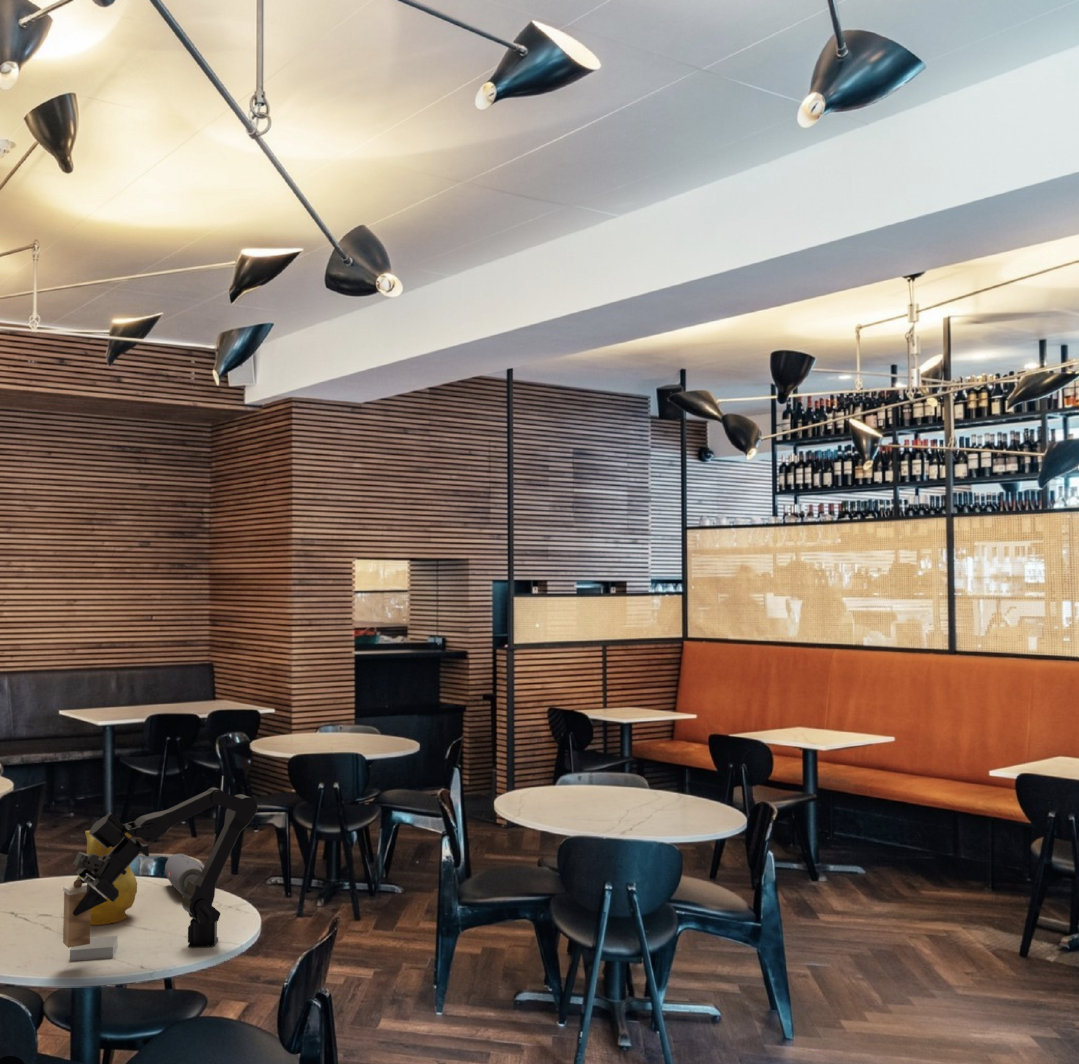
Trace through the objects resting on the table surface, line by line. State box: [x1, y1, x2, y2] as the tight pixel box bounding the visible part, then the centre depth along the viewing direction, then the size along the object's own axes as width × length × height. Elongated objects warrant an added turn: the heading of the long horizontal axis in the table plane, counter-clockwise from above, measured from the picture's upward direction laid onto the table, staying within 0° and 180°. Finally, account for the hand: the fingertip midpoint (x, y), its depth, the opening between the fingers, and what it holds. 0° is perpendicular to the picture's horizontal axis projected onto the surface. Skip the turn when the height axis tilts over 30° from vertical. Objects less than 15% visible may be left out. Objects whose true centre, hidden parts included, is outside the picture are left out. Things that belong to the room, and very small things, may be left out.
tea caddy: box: [62, 879, 91, 949], centre depth 269 cm, size 5×5×15 cm
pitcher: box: [75, 829, 138, 926], centre depth 311 cm, size 17×18×25 cm
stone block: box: [69, 935, 119, 962], centre depth 279 cm, size 10×10×3 cm
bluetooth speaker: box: [164, 853, 203, 895], centre depth 339 cm, size 23×9×10 cm, turn 28°
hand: (71, 912), depth 268 cm, fingers closed on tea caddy, 5 cm apart
